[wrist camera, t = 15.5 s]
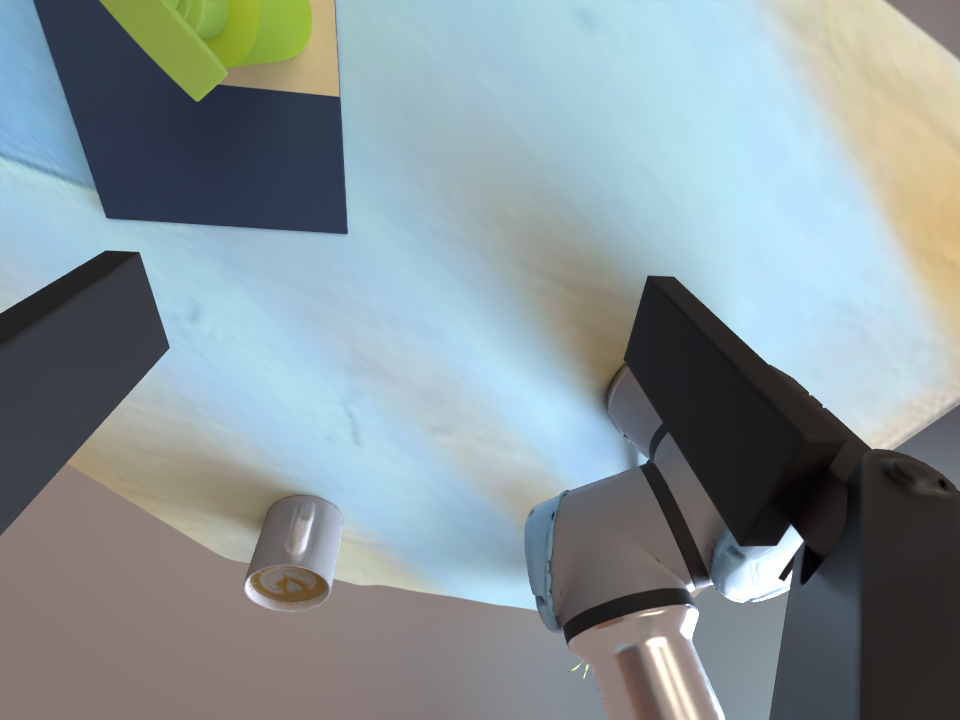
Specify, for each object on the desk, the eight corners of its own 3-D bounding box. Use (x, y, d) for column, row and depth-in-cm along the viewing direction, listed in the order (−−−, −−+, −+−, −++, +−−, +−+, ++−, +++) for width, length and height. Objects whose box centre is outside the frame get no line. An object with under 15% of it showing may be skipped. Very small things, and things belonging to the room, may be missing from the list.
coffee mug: (327, 548, 68) (314, 618, 60) (257, 531, 65) (232, 603, 57) (364, 491, 63) (354, 560, 54) (289, 469, 59) (266, 539, 51)
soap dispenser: (281, 91, 36) (159, 134, 20) (205, -4, 33) (-20, -49, 16) (339, 41, 35) (260, 41, 18) (267, -65, 31) (88, -181, 15)
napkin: (347, 232, 43) (347, 234, 43) (108, 217, 41) (105, 218, 40) (332, -54, 32) (331, -55, 32) (2, -101, 30) (-3, -103, 29)
